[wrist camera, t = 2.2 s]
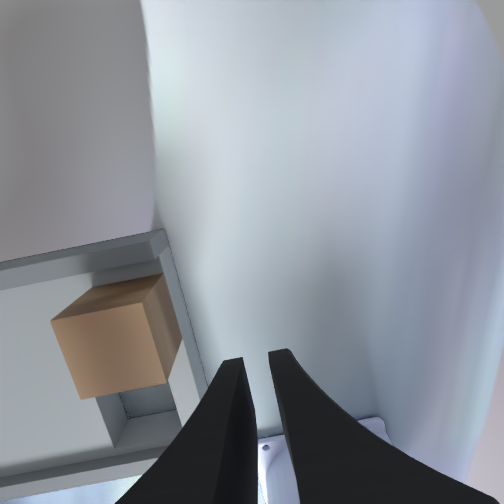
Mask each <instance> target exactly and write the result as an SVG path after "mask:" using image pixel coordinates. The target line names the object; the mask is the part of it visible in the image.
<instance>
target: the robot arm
mask: <svg viewBox="0 0 504 504" xmlns="http://www.w3.org/2000/svg"><path fill="white" fill-rule="evenodd" d="M268 356H269V364H270V369H271V374H272V379H273V383H274V388H275V393H276V397H277V402H278V407H279V412H280V416H281V421H282V426H283V431H284V435H279V436H273V437H268V438H263V439H258V436H257V425H256V415H255V408H254V404H253V400H252V396H251V391H250V387H249V383H248V379H247V374H246V370H245V366H244V361H243V357H240V358H235V359H230V360H224V361H223V362H222V364H221V365H220V367H219V369H218V371H217V373H216V375H215V377H214V378H213V380H212V382H211V384H210V385H209V387H208V389H207V391H206V392H205V394H204V396H203V397H202V399H201V400H200V402H199V404H198V405H197V407H196V409H195V410H194V412H193V413H192V414H191V416H190V417H189V419H188V420H187V422H186V423H185V425H184V426H183V427H182V429H181V430H180V432H179V433H178V434H177V436H176V437H175V438H174V440H173V441H172V442H171V444H170V445H169V446H168V447H167V448H166V450H165V451H164V452H163V453H162V454H161V456H160V457H159V458H158V459H157V460H156V461H155V463H154V464H153V465H152V466H151V467H150V468H149V469H148V470H147V471H146V472H145V473H144V474H143V475H142V476H141V477H140V478H139V479H138V481H137V482H136V483H135V484H134V485H133V486H132V487H131V488H130V489H129V490H128V491H127V492H126V493H125V494H124V495H123V496H122V497H121V498H120V499H119V500H118V501H117V502H116V503H115V504H258V477H259V481H260V485H261V489H262V493H263V497H264V501H265V504H499V502H498V501H497V500H496V499H495V498H493V497H491V496H489V495H486V494H484V493H483V492H480V491H478V490H476V489H474V488H472V487H469V486H467V485H465V484H463V483H461V482H459V481H457V480H455V479H452V478H450V477H448V476H446V475H444V474H442V473H440V472H438V471H436V470H434V469H432V468H430V467H428V466H427V465H425V464H423V463H421V462H419V461H417V460H416V459H414V458H412V457H410V456H408V455H407V454H405V453H404V452H402V451H400V450H399V449H397V448H396V447H394V446H393V445H392V443H391V441H390V439H389V437H388V436H387V434H386V431H385V424H384V422H383V420H382V419H381V418H379V417H373V418H368V419H363V420H358V421H357V420H355V419H354V418H353V417H352V416H350V415H349V414H348V413H347V412H345V411H344V410H343V409H342V408H341V407H340V406H339V405H337V404H336V403H335V402H334V401H333V400H332V399H331V398H330V397H329V396H328V395H327V394H326V393H325V392H324V391H323V390H322V389H321V388H320V387H319V386H318V385H317V384H316V383H315V382H314V381H313V380H312V379H311V377H310V376H309V375H308V374H307V373H306V372H305V371H304V369H303V368H302V367H301V365H300V364H299V363H298V361H297V360H296V359H295V357H294V355H293V354H292V352H291V351H290V350H289V349H287V348H286V349H281V350H276V351H271V352H268ZM364 426H365V427H364ZM264 445H268V446H264Z"/></svg>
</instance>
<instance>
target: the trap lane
mask: <svg viewBox="0 0 504 504" xmlns="http://www.w3.org/2000/svg"><path fill="white" fill-rule="evenodd" d="M161 273H164V275H165V278H166V282H167V286H168V289H169V293H170V296H171V300H172V303H173V307H174V310H175V314H176V317H177V321H178V324H179V328H180V331H181V335H182V341H181V344H180V347H179V350H178V353H177V355H176V358H175V361H174V364H173V367H172V370H171V373H170V376H169V378H168V382H169V385H170V388H171V391H172V395H173V398H174V401H175V405H176V408H177V410H172V411H167V412H162V413H156V414H151V415H146V416H141V417H136V418H130V419H128V418H127V415H126V412H125V409H124V406H123V404H122V401H121V398H120V395H119V393H114V394H109V395H104V396H99V397H94V398H88V399H83V400H81V399H80V397H79V394H78V392H77V389H76V387H75V384H74V382H73V379H72V377H71V374H70V371H69V369H68V366H67V364H66V361H65V359H64V356H63V354H62V351H61V349H60V346H59V343H58V341H57V338H56V336H55V333H54V331H53V328H52V326H51V323H50V320H51V319H53V318H54V317H55V316H56V315H58V314H59V313H60V312H61V311H63V310H64V309H65V308H67V307H68V306H69V305H70V304H72V303H73V302H74V301H75V300H77V299H78V298H79V297H80V296H82V295H83V294H84V293H85V292H87V291H88V290H89V289H90V288H92V287H96V286H101V285H106V284H111V283H116V282H121V281H126V280H131V279H136V278H141V277H146V276H151V275H156V274H161ZM207 389H208V386H207V382H206V378H205V375H204V371H203V367H202V364H201V360H200V356H199V353H198V349H197V345H196V342H195V338H194V334H193V331H192V327H191V323H190V320H189V316H188V312H187V309H186V305H185V301H184V298H183V294H182V290H181V286H180V283H179V279H178V275H177V272H176V268H175V264H174V261H173V257H172V253H171V250H170V246H169V242H168V239H167V235H166V231H165V229H160V230H156V231H151V232H146V233H141V234H136V235H131V236H126V237H121V238H116V239H111V240H106V241H102V242H97V243H92V244H87V245H82V246H78V247H72V248H68V249H62V250H57V251H52V252H48V253H43V254H38V255H33V256H28V257H24V258H18V259H14V260H9V261H4V262H0V501H5V500H11V499H16V498H21V497H26V496H32V495H37V494H42V493H48V492H53V491H58V490H63V489H69V488H74V487H79V486H85V485H90V484H95V483H100V482H106V481H111V480H116V479H122V478H127V477H132V476H137V475H143V474H144V473H145V472H146V471H147V470H148V469H149V468H150V467H151V466H152V465H153V464H154V463H155V461H156V460H157V459H158V458H159V457H160V456H161V454H162V453H163V452H164V451H165V450H166V448H167V447H168V446H169V445H170V444H171V442H172V441H173V440H174V438H175V437H176V436H177V434H178V433H179V432H180V430H181V429H182V427H183V426H184V425H185V423H186V422H187V420H188V419H189V417H190V416H191V414H192V413H193V412H194V410H195V409H196V407H197V405H198V404H199V402H200V400H201V399H202V397H203V396H204V394H205V392H206V391H207Z"/></svg>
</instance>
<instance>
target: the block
mask: <svg viewBox="0 0 504 504" xmlns="http://www.w3.org/2000/svg"><path fill="white" fill-rule="evenodd" d="M50 323H51V326H52V328H53V331H54V333H55V336H56V338H57V341H58V343H59V346H60V349H61V351H62V354H63V356H64V359H65V361H66V364H67V366H68V369H69V371H70V374H71V377H72V379H73V382H74V384H75V387H76V389H77V392H78V394H79V397H80V399H81V400H83V399H88V398H94V397H99V396H104V395H109V394H114V393H119V392H124V391H130V390H135V389H140V388H145V387H150V386H155V385H160V384H166V383H167V381H168V378H169V376H170V373H171V370H172V367H173V364H174V361H175V358H176V355H177V353H178V350H179V347H180V344H181V341H182V335H181V331H180V328H179V324H178V321H177V317H176V314H175V310H174V307H173V303H172V300H171V296H170V293H169V289H168V286H167V282H166V278H165V275H164V273H161V274H156V275H151V276H146V277H141V278H136V279H131V280H126V281H121V282H116V283H111V284H106V285H101V286H96V287H92V288H90V289H89V290H88V291H87V292H85V293H84V294H83V295H82V296H80V297H79V298H78V299H77V300H75V301H74V302H73V303H72V304H70V305H69V306H68V307H67V308H65V309H64V310H63V311H61V312H60V313H59V314H58V315H56V316H55V317H54V318H53V319H51V320H50Z"/></svg>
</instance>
